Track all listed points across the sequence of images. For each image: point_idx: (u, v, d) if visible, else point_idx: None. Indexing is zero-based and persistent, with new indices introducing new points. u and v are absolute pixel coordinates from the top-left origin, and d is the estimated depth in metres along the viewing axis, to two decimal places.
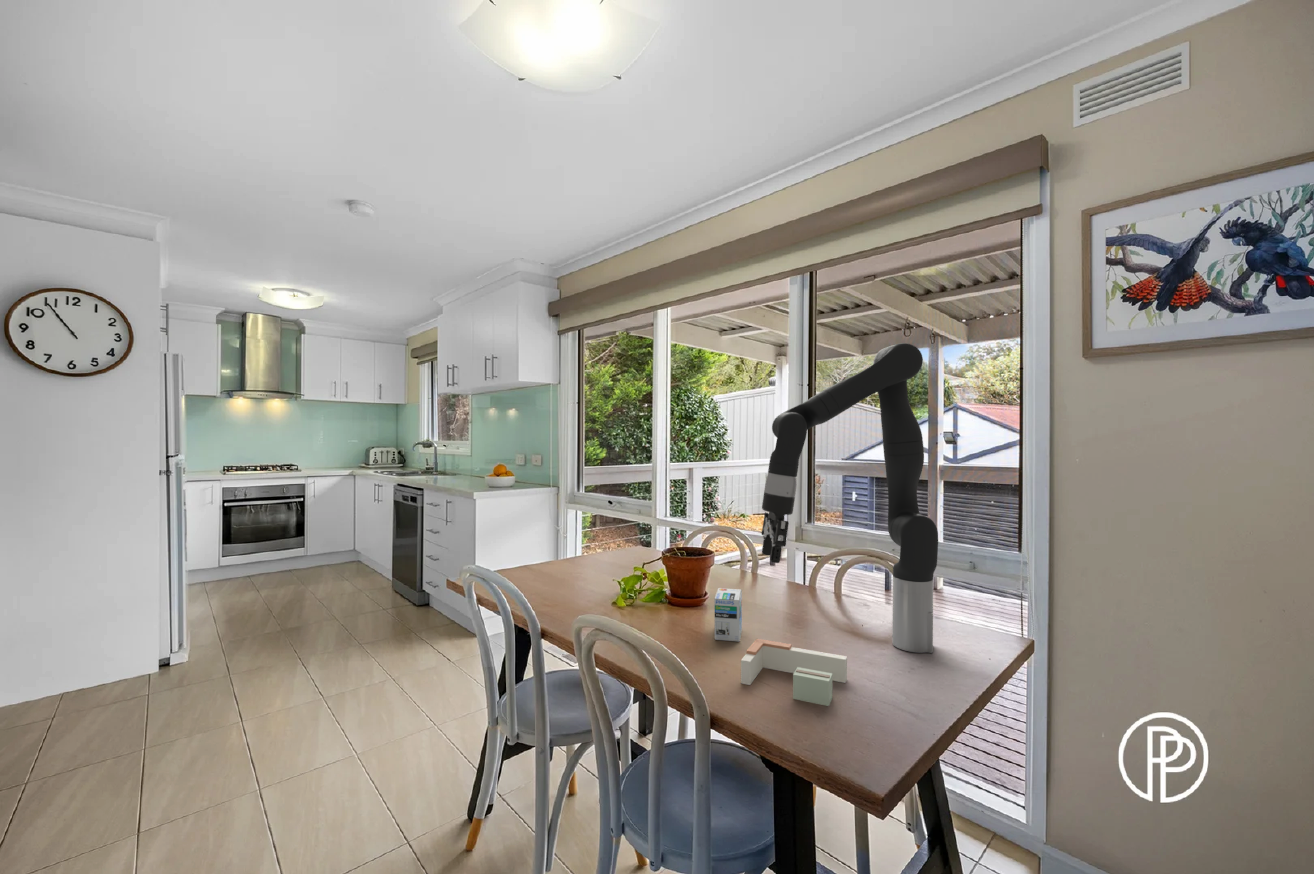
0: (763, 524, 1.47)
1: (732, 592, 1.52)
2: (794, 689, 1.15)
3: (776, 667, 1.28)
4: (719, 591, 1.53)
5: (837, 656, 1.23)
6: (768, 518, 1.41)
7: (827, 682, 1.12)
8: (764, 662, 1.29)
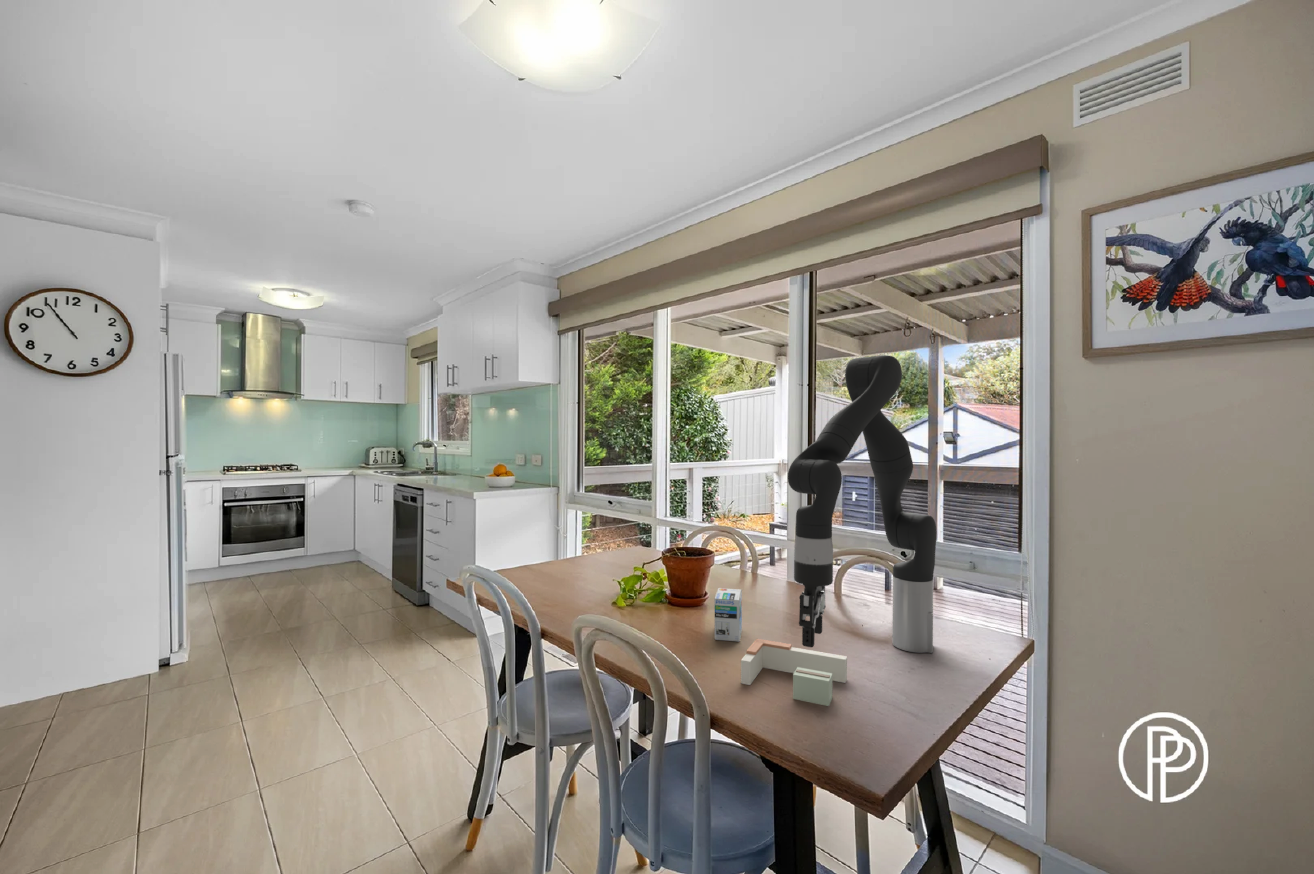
0: None
1: (732, 592, 1.52)
2: (794, 689, 1.15)
3: (776, 667, 1.28)
4: (719, 591, 1.53)
5: (837, 656, 1.23)
6: None
7: (827, 682, 1.12)
8: (764, 662, 1.29)
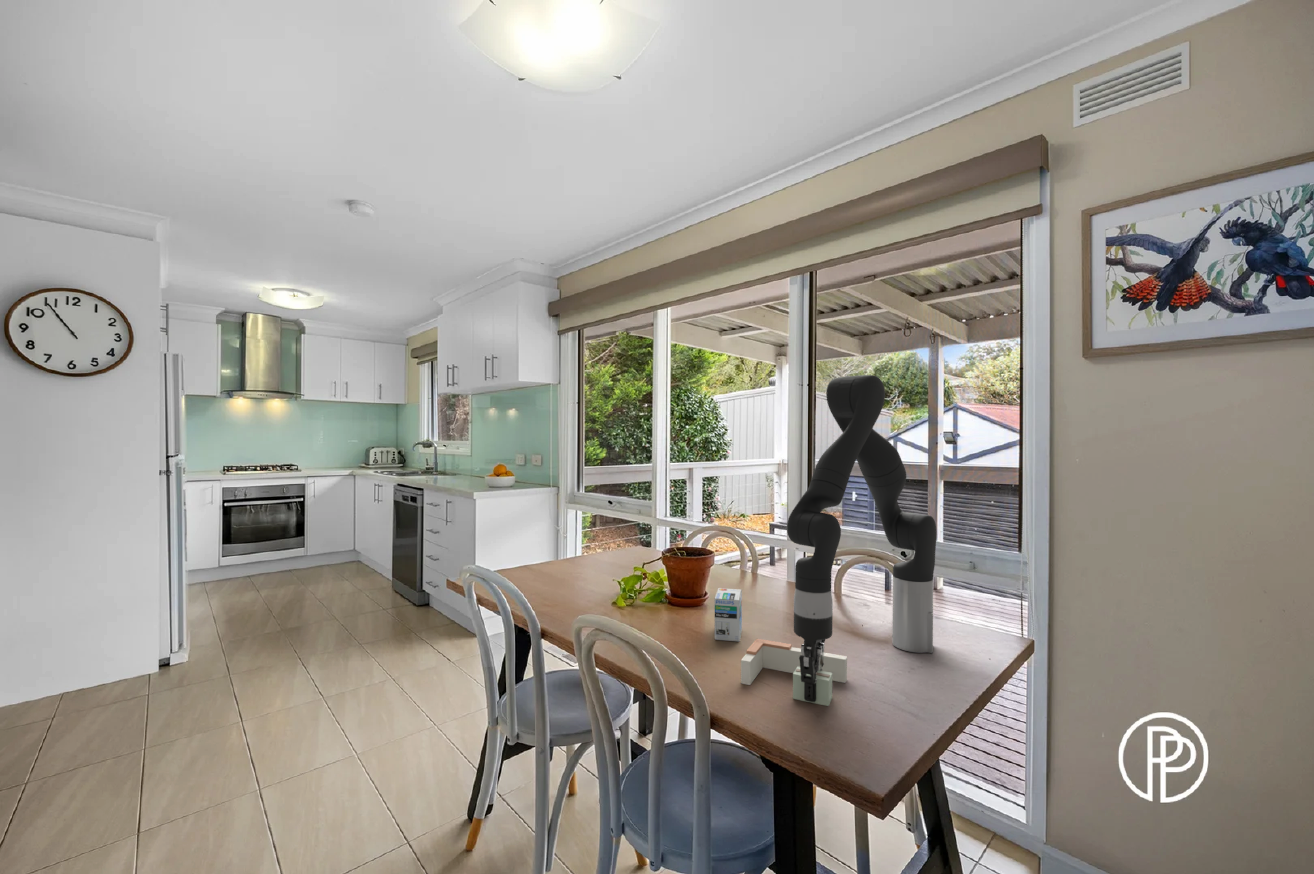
0: None
1: (732, 592, 1.52)
2: (794, 688, 1.14)
3: (776, 667, 1.28)
4: (719, 591, 1.53)
5: (837, 656, 1.23)
6: None
7: (827, 681, 1.12)
8: (764, 662, 1.29)
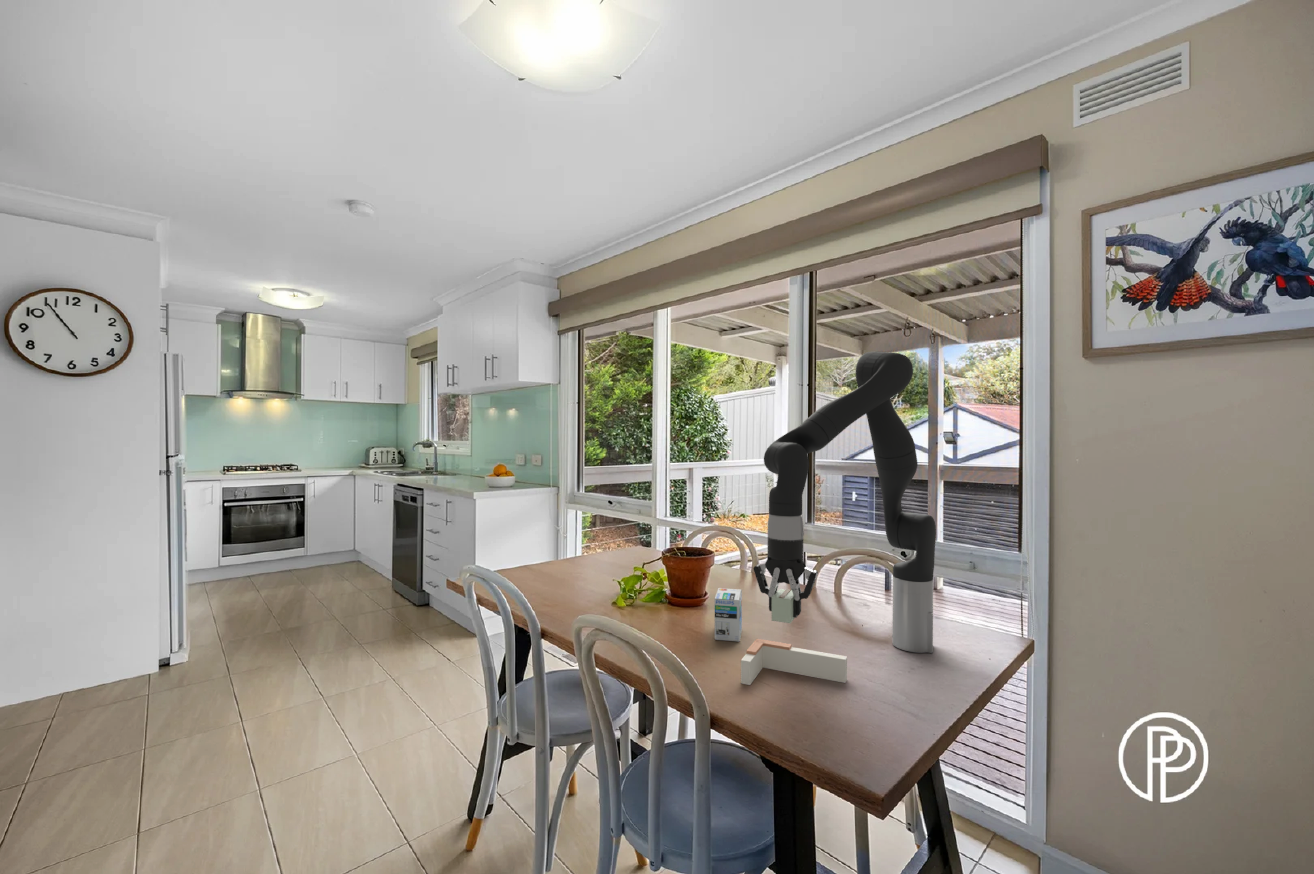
0: None
1: (732, 592, 1.52)
2: None
3: (776, 667, 1.28)
4: (719, 591, 1.53)
5: (837, 656, 1.23)
6: None
7: None
8: (764, 662, 1.29)
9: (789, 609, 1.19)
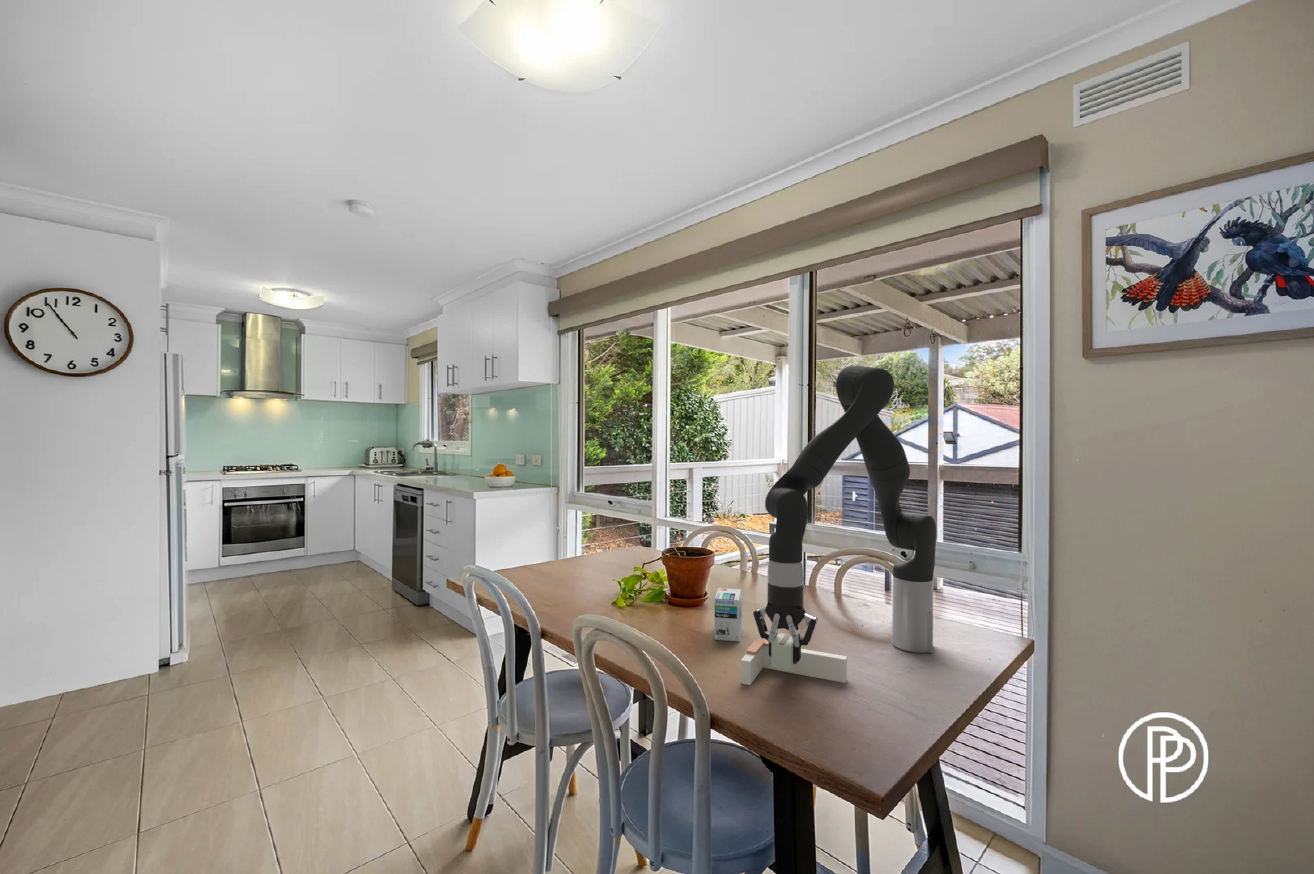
0: None
1: (732, 592, 1.52)
2: None
3: None
4: (719, 591, 1.53)
5: (837, 656, 1.23)
6: None
7: None
8: (764, 662, 1.29)
9: (789, 656, 1.19)
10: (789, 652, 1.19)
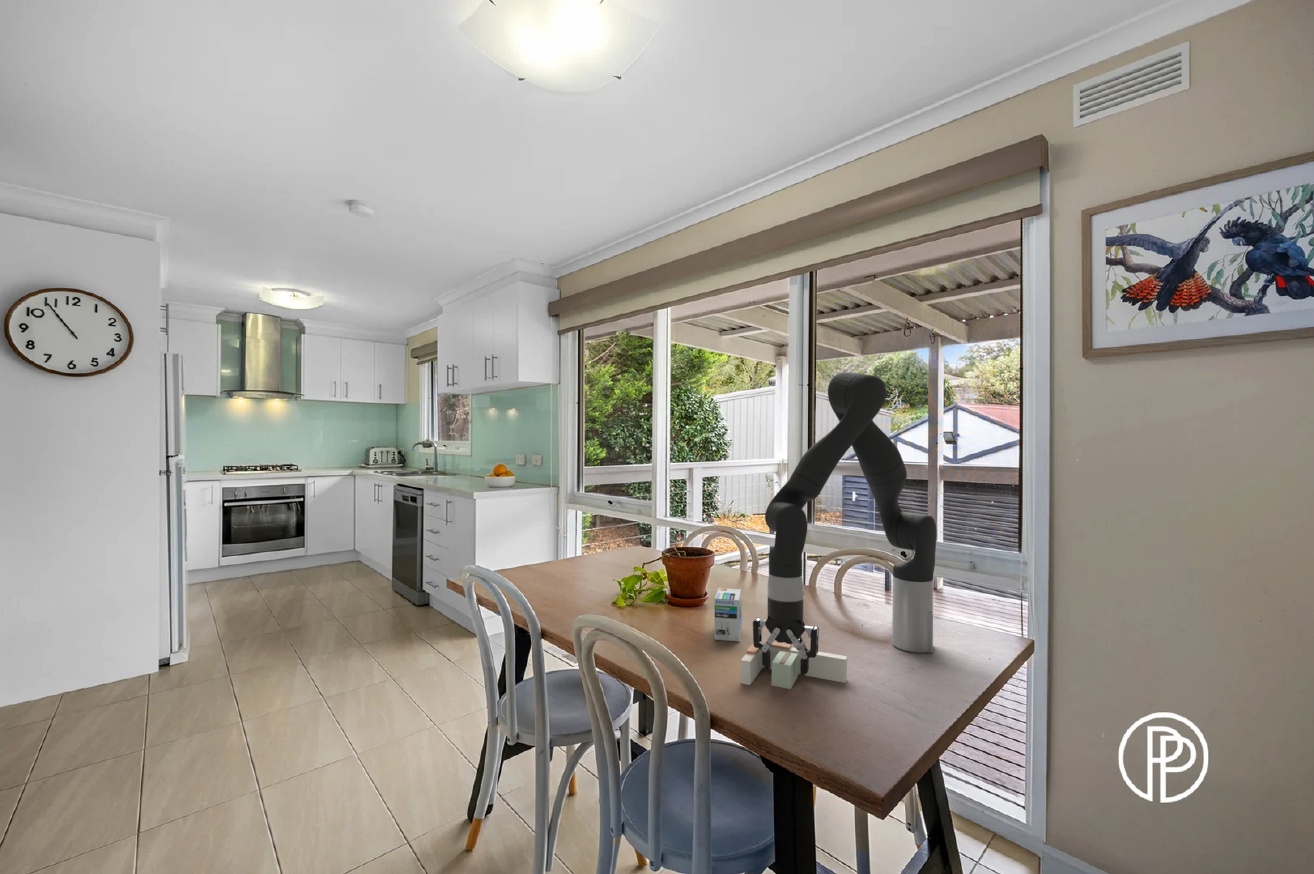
0: None
1: (732, 592, 1.52)
2: None
3: None
4: (719, 591, 1.53)
5: (837, 656, 1.23)
6: None
7: (772, 663, 1.21)
8: None
9: (789, 675, 1.19)
10: (789, 671, 1.19)
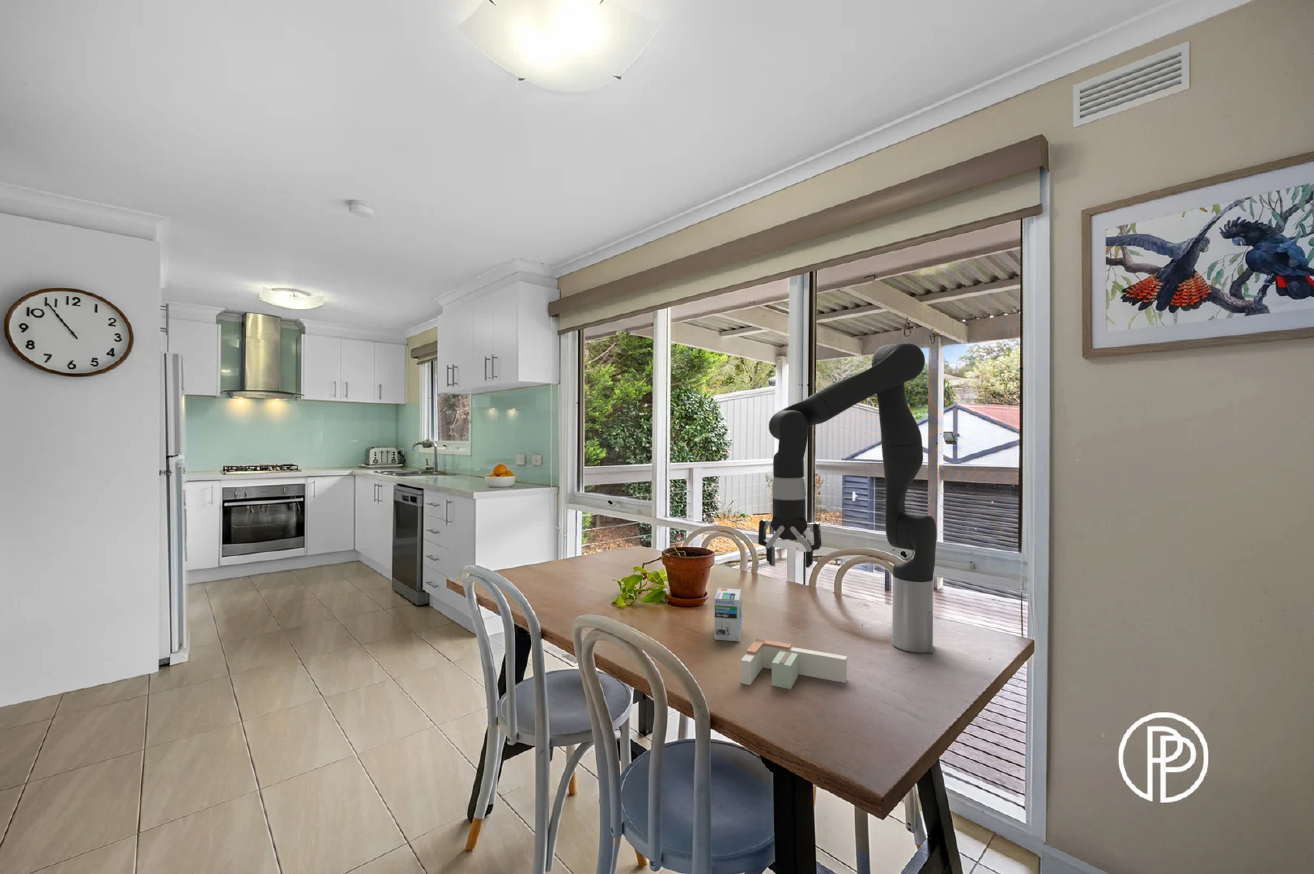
0: None
1: (732, 592, 1.52)
2: None
3: None
4: (719, 591, 1.53)
5: (837, 656, 1.23)
6: None
7: (772, 663, 1.21)
8: (764, 662, 1.29)
9: (789, 675, 1.19)
10: (789, 671, 1.19)
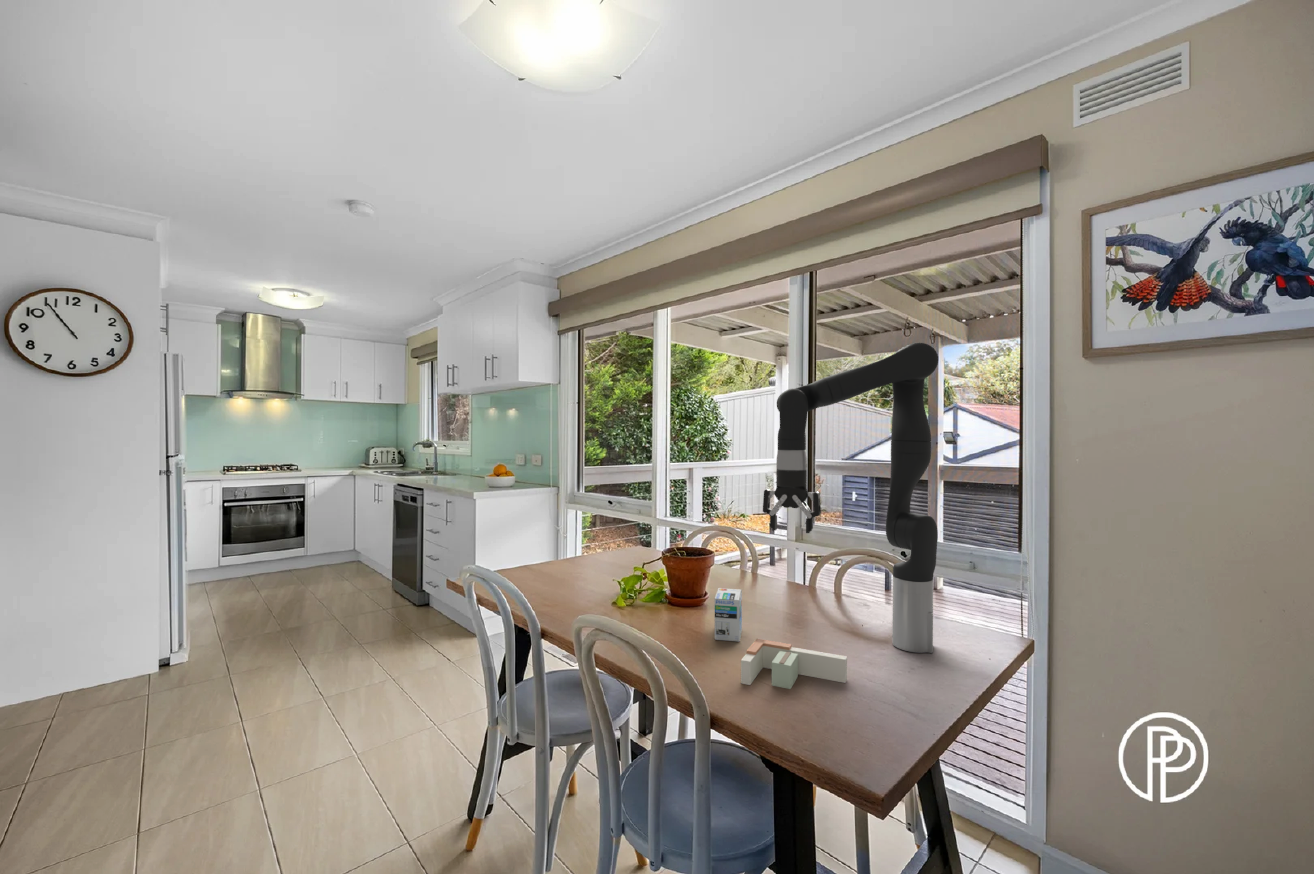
0: None
1: (732, 592, 1.52)
2: None
3: None
4: (719, 591, 1.53)
5: (837, 656, 1.23)
6: None
7: (772, 663, 1.21)
8: (764, 662, 1.29)
9: (789, 675, 1.19)
10: (789, 671, 1.19)
